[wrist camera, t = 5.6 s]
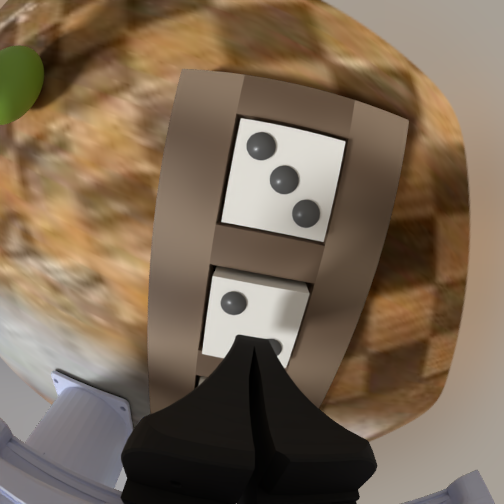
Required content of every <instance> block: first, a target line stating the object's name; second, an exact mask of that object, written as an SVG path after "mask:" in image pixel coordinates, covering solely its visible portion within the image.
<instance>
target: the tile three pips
mask: <svg viewBox="0 0 504 504" xmlns="http://www.w3.org/2000/svg"><path fill="white" fill-rule="evenodd" d="M344 147H345V141H342V140H338V139H335V138H331V137H327V136H324V135H320V134H316V133H312V132H308V131H303V130H299V129H295V128H290V127H286V126H281V125H276V124H271V123H266V122H260V121H255V120H249V119H243V118H241V120H240V125H239V130H238V135H237V140H236V145H235V150H234V155H233V160H232V165H231V171H230V176H229V181H228V187H227V192H226V198H225V204H224V209H223V215H222V221H221V222H225V223H230V224H236V225H241V226H246V227H251V228H257V229H262V230H267V231H272V232H277V233H282V234H287V235H292V236H297V237H302V238H307V239H312V240H317V241H321V242H324V238H325V234H326V230H327V226H328V222H329V218H330V213H331V209H332V205H333V200H334V196H335V191H336V187H337V182H338V177H339V172H340V167H341V162H342V157H343V152H344Z"/></svg>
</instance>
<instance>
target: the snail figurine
mask: <svg viewBox="0 0 504 504" xmlns="http://www.w3.org/2000/svg"><path fill="white" fill-rule="evenodd" d="M43 81H44V67H43V63H42V60H41V58H40V57H39V55H38V54H37V53H36V52H35V51H34V50H32V49H31V48H29V47H26V46H12V47H8V48H5V49H3V50H1V51H0V125H4V124H8V123H11V122H13V121H15V120H17V119H19V118H20V117H21V116H23V115H24V114H25V113H26V112H27V111H28V110H29V109H30V108H31V107H32V105H33V104H34V103H35V101H36V100H37V98H38V96H39V94H40V91H41V89H42V85H43Z"/></svg>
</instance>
